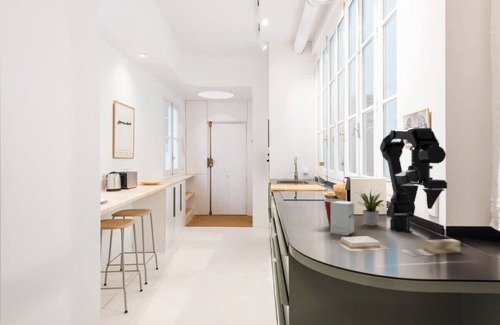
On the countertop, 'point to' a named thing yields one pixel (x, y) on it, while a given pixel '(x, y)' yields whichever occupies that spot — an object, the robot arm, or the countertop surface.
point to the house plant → (371, 209)
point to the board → (360, 247)
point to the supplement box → (342, 217)
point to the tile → (360, 241)
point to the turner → (436, 247)
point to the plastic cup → (328, 208)
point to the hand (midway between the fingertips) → (420, 206)
